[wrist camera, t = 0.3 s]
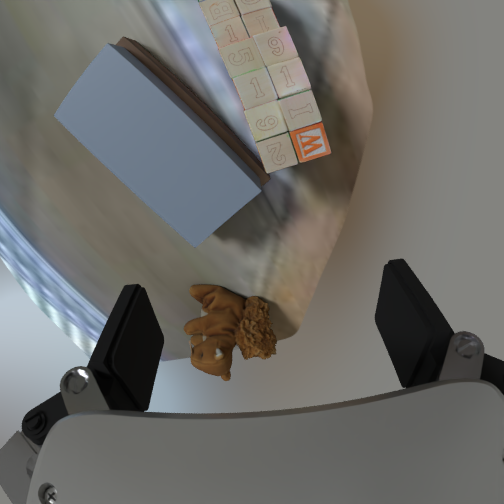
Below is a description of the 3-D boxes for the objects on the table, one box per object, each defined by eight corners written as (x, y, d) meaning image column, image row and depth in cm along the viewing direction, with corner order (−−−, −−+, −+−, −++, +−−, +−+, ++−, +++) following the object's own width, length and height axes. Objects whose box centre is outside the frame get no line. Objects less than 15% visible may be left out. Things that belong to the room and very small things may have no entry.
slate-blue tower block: (123, 47, 26) (107, 43, 22) (259, 178, 35) (261, 191, 31) (73, 110, 29) (53, 115, 25) (200, 230, 38) (195, 248, 34)
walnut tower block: (136, 41, 29) (123, 36, 25) (268, 169, 38) (270, 179, 35) (80, 108, 33) (63, 112, 29) (203, 224, 42) (199, 240, 39)
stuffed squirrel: (186, 282, 47) (170, 344, 36) (275, 281, 47) (284, 344, 36) (194, 327, 52) (184, 388, 41) (273, 327, 52) (279, 388, 41)
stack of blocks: (201, 2, 26) (181, -32, 16) (249, -14, 25) (251, -54, 15) (260, 149, 37) (266, 176, 26) (307, 134, 36) (333, 155, 25)
